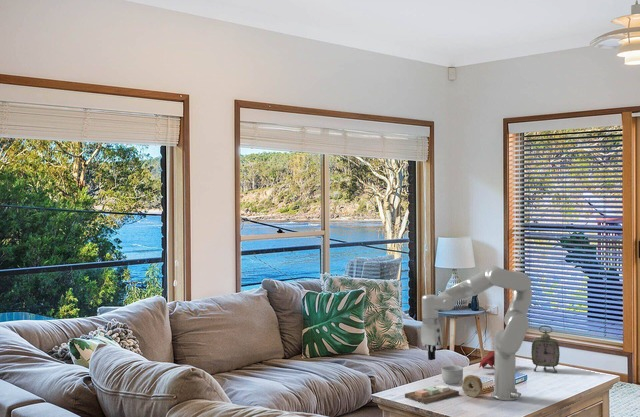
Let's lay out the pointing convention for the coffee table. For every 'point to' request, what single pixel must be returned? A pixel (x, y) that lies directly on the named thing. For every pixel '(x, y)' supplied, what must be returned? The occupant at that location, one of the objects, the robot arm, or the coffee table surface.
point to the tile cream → (442, 388)
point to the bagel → (469, 388)
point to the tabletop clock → (545, 351)
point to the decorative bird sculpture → (488, 360)
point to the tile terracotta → (421, 393)
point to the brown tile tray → (432, 396)
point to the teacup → (452, 374)
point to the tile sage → (432, 390)
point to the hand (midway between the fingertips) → (431, 359)
